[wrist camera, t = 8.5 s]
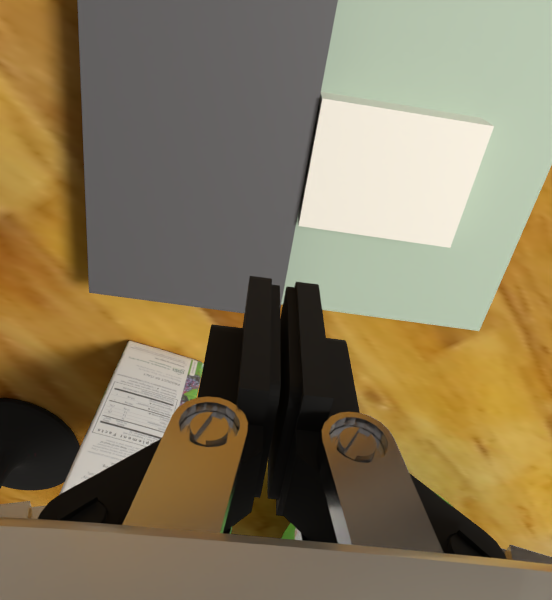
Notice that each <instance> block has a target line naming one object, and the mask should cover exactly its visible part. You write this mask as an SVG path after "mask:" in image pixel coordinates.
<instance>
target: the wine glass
mask: <svg viewBox="0 0 552 600" xmlns="http://www.w3.org/2000/svg"><path fill="white" fill-rule="evenodd" d="M79 449H80V446H79V443H78V441H77V439H76V437H75V435H74V433H73V432H72V431H71V429H70V428H69V427H68V426H67V425H66V424H65V423H64V422H63V421H62V420H60V419H59V418H58V417H56V416H55V415H54V414H52V413H50V412H49V411H47V410H45V409H43V408H41V407H39V406H36V405H33V404H30V403H28V402H24V401H20V400H15V399H6V398H0V488H1V486H5V487H8V488H13V489H20V490H42V489H48V488H52V487H55V486H57V485H60V484H62V483H63V482H65V480H66V478H67V476H68V473H69V471H70V469H71V467H72V464H73V462H74V460H75V458H76V455H77V453H78V451H79Z"/></svg>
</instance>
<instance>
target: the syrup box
mask: <svg viewBox="0 0 552 600" xmlns="http://www.w3.org/2000/svg"><path fill="white" fill-rule="evenodd" d="M203 366H204V364H203V363H202V362H200V361H197V360H194V359H191V358H187V357H184V356H181V355H177V354H174V353H171V352H168V351H164V350H161V349H158V348H154V347H150V346H147V345H144V344H140V343H137V342H133V341H128V342H127V345H126V347H125V349H124V352H123V354H122V356H121V358H120V360H119V362H118V364H117V367H116V369H115V371H114V373H113V376H112V378H111V380H110V382H109V385H108V387H107V389H106V391H105V393H104V396H103V398H102V400H101V402H100V404H99V407H98V409H97V411H96V414H95V416H94V418H93V420H92V423H91V425H90V427H89V429H88V431H87V433H86V435H85V438H84V440H83V442H82V444H81V446H80V449H79V451H78V453H77V455H76V458H75V460H74V462H73V464H72V467H71V469H70V471H69V473H68V476H67V478H66V480H65V483H64V485H63V487H62V490H61V492H60V494H61V493H63V492H65V491H67V490H69V489H70V488H72V487H74V486H76V485H78V484H80V483H81V482H83V481H85V480H87V479H89V478H90V477H92V476H94V475H96V474H98V473H100V472H101V471H103V470H105V469H107V468H109V467H110V466H112V465H114V464H116V463H118V462H120V461H121V460H123V459H125V458H127V457H129V456H130V455H132V454H134V453H136V452H138V451H140V450H141V449H143V448H145V447H147V446H149V445H150V444H152V443H154V442H156V441H158V440H160V439H161V438H162V437H163V435H164V432H165V430H166V428H167V426H168V424H169V421H170V419H171V417H172V415H173V414H174V412H175V411H176V409H177V408H178V407H179V406H181V405H182V404H184V403H185V402H186V401H189V400H192V399H195V398H196V396H197V392H198V388H199V384H200V379H201V375H202V371H203ZM60 494H59V495H60Z"/></svg>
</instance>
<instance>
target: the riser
mask: <svg viewBox="0 0 552 600" xmlns="http://www.w3.org/2000/svg"><path fill="white" fill-rule="evenodd" d="M77 2H78V27H79V51H80V76H81V101H82V126H83V151H84V176H85V201H86V226H87V251H88V276H89V293H96V294H103V295H111V296H118V297H126V298H134V299H141V300H149V301H156V302H164V303H171V304H179V305H186V306H194V307H201V308H209V309H216V310H224V311H231V312H239V313H245V307H246V299H247V292H248V284H249V277H250V276H255V277H263V278H271V279H272V285H280V308H281V302H282V297H283V292H284V286H285V281H286V275H287V270H288V265H289V259H290V254H291V249H292V243H293V238H294V233H295V227H296V222H297V217H298V211H299V206H300V201H301V195H302V190H303V185H304V179H305V174H306V168H307V163H308V158H309V152H310V147H311V142H312V136H313V131H314V126H315V120H316V115H317V110H318V104H319V99H320V94H321V88H322V83H323V78H324V72H325V67H326V62H327V56H328V51H329V45H330V40H331V35H332V29H333V24H334V19H335V13H336V8H337V3H338V0H77Z"/></svg>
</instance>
